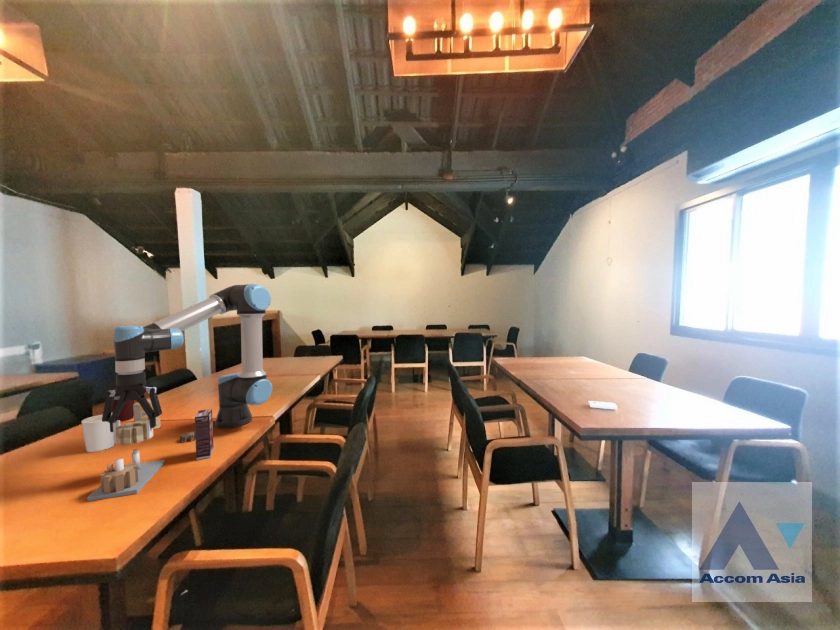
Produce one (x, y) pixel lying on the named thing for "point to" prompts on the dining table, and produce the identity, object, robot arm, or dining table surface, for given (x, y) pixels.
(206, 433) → the supplement box
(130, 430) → the maple gear
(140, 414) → the supplement box
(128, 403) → the mug
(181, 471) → the dining table surface
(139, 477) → the gear board
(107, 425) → the candle holder
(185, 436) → the gear
